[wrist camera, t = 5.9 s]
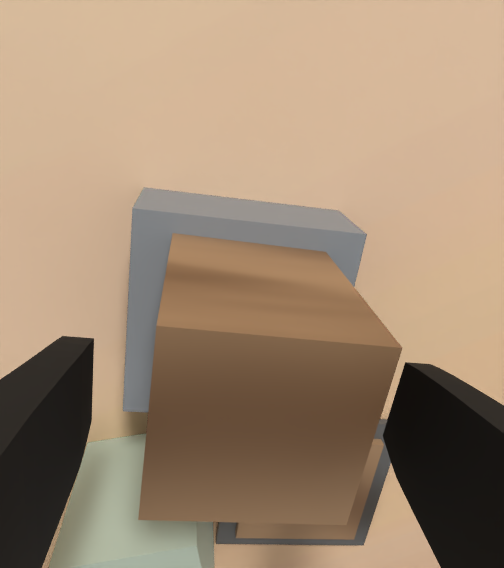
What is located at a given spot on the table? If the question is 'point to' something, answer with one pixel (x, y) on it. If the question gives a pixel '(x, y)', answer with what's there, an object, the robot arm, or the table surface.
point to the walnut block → (261, 386)
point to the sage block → (123, 517)
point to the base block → (222, 225)
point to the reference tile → (322, 533)
